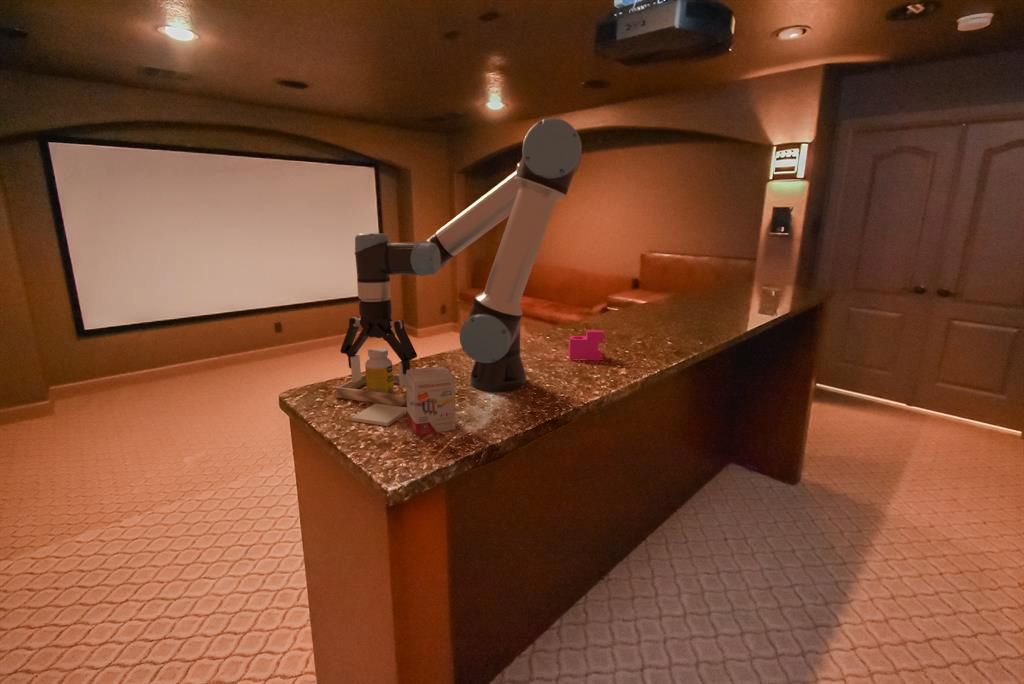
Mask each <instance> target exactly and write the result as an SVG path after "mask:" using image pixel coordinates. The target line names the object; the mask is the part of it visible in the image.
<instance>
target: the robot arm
mask: <svg viewBox="0 0 1024 684" xmlns="http://www.w3.org/2000/svg"><path fill="white" fill-rule="evenodd" d="M582 148H583V144H582V140H581V137H580V135H579V133H578V131H577V130H576V129H575V128H574V126H573V125H572V124H571V123H569V122H568V121H566V120H564V119H561V118H557V117H548V118H544V119H542V120H539V121H537V122H536V123H534V124H533V125H532V126H531V127H530V129H529V130H528V131H527V132H526V133H525V136H524V139H523V142H522V148H521V150H522V151H521V153H522V156H521V160H520V161H519V162H518V163H517V165H516V170H514V172H512V173H511V174H509V175H508V176H507V177H506V178H505V179H503V180H501V181H500V182H499V183H497V185H496V186H494V187H493V188H491V189H490V190H489V191H487V192H486V193H485V194H484V195H482V196H481V197H480V198H478V199H477V200H476V201H474V202H473V203H472V204H471V205H469V206H468V207H466V209H464V210H463V211H461V212H460V213H459V214H457V215H456V216H454V218H452V219H451V220H450V221H449V222H447V223H446V224H445V225H444V226H442V227H441V228H440V229H438V230H437V231H436V232H435V233H433V234H432V235H431V236H429V237H428V238H427V239H425V240H423V241H414V242H413V241H409V242H407V241H405V242H404V241H403V242H401V241H399V242H397V241H395V242H394V241H389V237H388V236H389V235H387V234H386V233H376V232H375V233H367V232H366V233H362V232H361V233H358V234H356V236H355V237H354V255H355V265H356V266H355V267H356V277H357V281H356V282H357V283H356V284H357V298H358V299H359V301H358V310H359V312H358V313H359V316H360V317H359V316H353V317H351V318H349V319H348V320H349V321H348V328H347V330H346V334H345V336H344V340H343V343H342V345H341V348H340V350H339V351H340V353H341V354H345V355H346V356H347V361H348V368H349V369H351V370H350V371H351V380H352V382H357V381H359V380H361V375H362V373H361V372H362V371H361V370H362V369H361V355H360V354H358V353H359V350H361V348H362V346H363V345H364V344H365V343H366V341H367V339H368V338H376V339H383V341H386V342H387V344H388V345H389V346H390V348H391V349H392V350H393V351H394V353H395V354H396V355H397V357H398V359H400V361H398V362H397V364H398V375H399V389H404V388H406V387H407V386H406V371H407V370H411V361H412V360H414V359H416V358H417V357H418V354H417V351H416V349H415V347H414V345H413V344H412V341H411V339H410V337H409V335H408V333H407V330H406V329H405V328H406V327H405V323H404V320H403V319H398V320H392V313H393V312H392V300H391V299H390V298H391V275H402V276H420V277H425V276H434V275H437V274H438V273H439V270H440V269H442V268H444V267H445V266H446V264H447V263H448V262H449V261H450V260H451V259H453V258H454V257H455V256H456V255H457V254H459V253H461V252H462V251H463V250H465V248H467V247H469V246H470V245H471V244H473V243H474V242H475V241H477V240H478V239H479V238H481V237H482V236H483V235H485V234H486V233H487V232H489V231H490V230H492V229H493V228H494V227H496V226H497V225H499V223H501V222H502V221H504V220H505V219H507V218H508V219H507V223H506V226H505V228H504V231H503V234H502V237H501V240H500V244H499V246H498V249H497V251H496V254H495V258H494V261H493V264H492V266H491V268H490V272H489V275H488V278H487V282H486V285H485V286H484V287H485V288H484V290H483V291H482V292H481V293H479V294H476V295H475V297H474V298H473V299H474V300H473V302H472V305H471V308H470V311H469V314H468V316H467V318H466V319H465V321H463V324H462V325H461V326H460V330H459V337H458V338H459V343H460V346H461V348H462V350H463V352H464V353H465V354H466V355H467V356H468V357H469V358H470V359H472V360H474V362H473V366H472V369H471V372H470V378H469V379H470V381H469V382H470V383H469V384H470V386H471V387H473V388H475V389H477V390H481V391H484V392H500V393H501V391H503V392H510V391H509V390H512V391H516V390H515V389H517V390H519V389H518V388H520V389H522V388H523V387H522V386H524V385H525V384H526V385H527V372H526V370H525V366H524V363H523V360H522V358H521V319H522V316H523V314H524V313H523V310H522V307H521V306H522V305H521V301H522V297H523V294H524V292H525V289H526V286H527V283H528V281H529V277H530V276H531V272H532V270H533V266H534V265H535V261H536V259H537V256H538V253H539V250H540V247H541V244H542V242H543V240H544V237H545V234H546V231H547V229H548V226H549V223H550V221H551V218H552V215H553V212H554V209H555V206H556V204H557V202H558V201H560V200H562V199H565V198H566V197H567V194H568V192H569V188H570V185H571V183H572V180H573V178H574V176H575V175H576V173H577V172H578V170H579V166H580V164H581V161H582V150H583V149H582ZM360 327H361V329H362V330H361V331H360V332H359V334H358V337H357V333H358V331H359V328H360ZM392 329H393V330H394V331H393V330H392ZM356 337H357V338H356ZM526 385H525V386H526ZM525 386H524V387H525ZM521 387H522V388H521Z"/></svg>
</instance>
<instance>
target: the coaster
mask: <svg viewBox="0 0 1024 684" xmlns="http://www.w3.org/2000/svg"><path fill="white" fill-rule="evenodd" d="M406 414H407V406H406V407H405V406H396V405H388V404H381V403H374V404H372V405H370V406H368V407H366V408H365V409H363V410H362V411H360V412H358V413H357V414H354V415H353V416H351V417H350V418H351V419H350V420H351V421H352V422H356V423H357V422H358V423H363V424H364V423H365V424H370V425H377V426H384V427H388V426H391V425H392V424H394V423H395V422H396V421H398V420H399V419H400V418H402V417H404V416H405V415H406Z"/></svg>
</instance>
